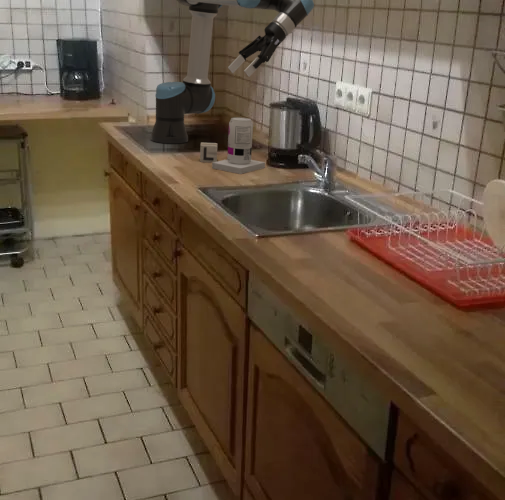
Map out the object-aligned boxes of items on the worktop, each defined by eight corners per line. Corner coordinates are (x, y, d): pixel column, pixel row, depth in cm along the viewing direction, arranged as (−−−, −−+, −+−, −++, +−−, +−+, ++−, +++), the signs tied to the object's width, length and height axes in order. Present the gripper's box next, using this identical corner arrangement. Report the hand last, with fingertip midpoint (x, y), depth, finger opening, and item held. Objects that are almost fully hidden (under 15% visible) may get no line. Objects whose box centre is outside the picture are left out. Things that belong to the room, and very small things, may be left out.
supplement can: (223, 162, 234) (225, 118, 229) (234, 159, 241) (236, 116, 236) (243, 165, 231) (246, 121, 226) (254, 162, 238) (257, 119, 233)
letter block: (200, 158, 248) (200, 142, 246) (216, 159, 249) (217, 143, 247) (199, 162, 242) (200, 145, 241) (216, 162, 243) (217, 146, 241)
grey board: (237, 162, 246) (237, 157, 245) (264, 167, 239) (265, 162, 239) (212, 168, 234) (212, 162, 233) (240, 174, 228) (240, 168, 227)
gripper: (302, 39, 231) (260, 83, 229) (269, 35, 252) (230, 76, 250) (290, 21, 227) (247, 67, 225) (257, 20, 248) (217, 61, 246)
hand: (238, 72), depth 237 cm, fingers open, 13 cm apart
